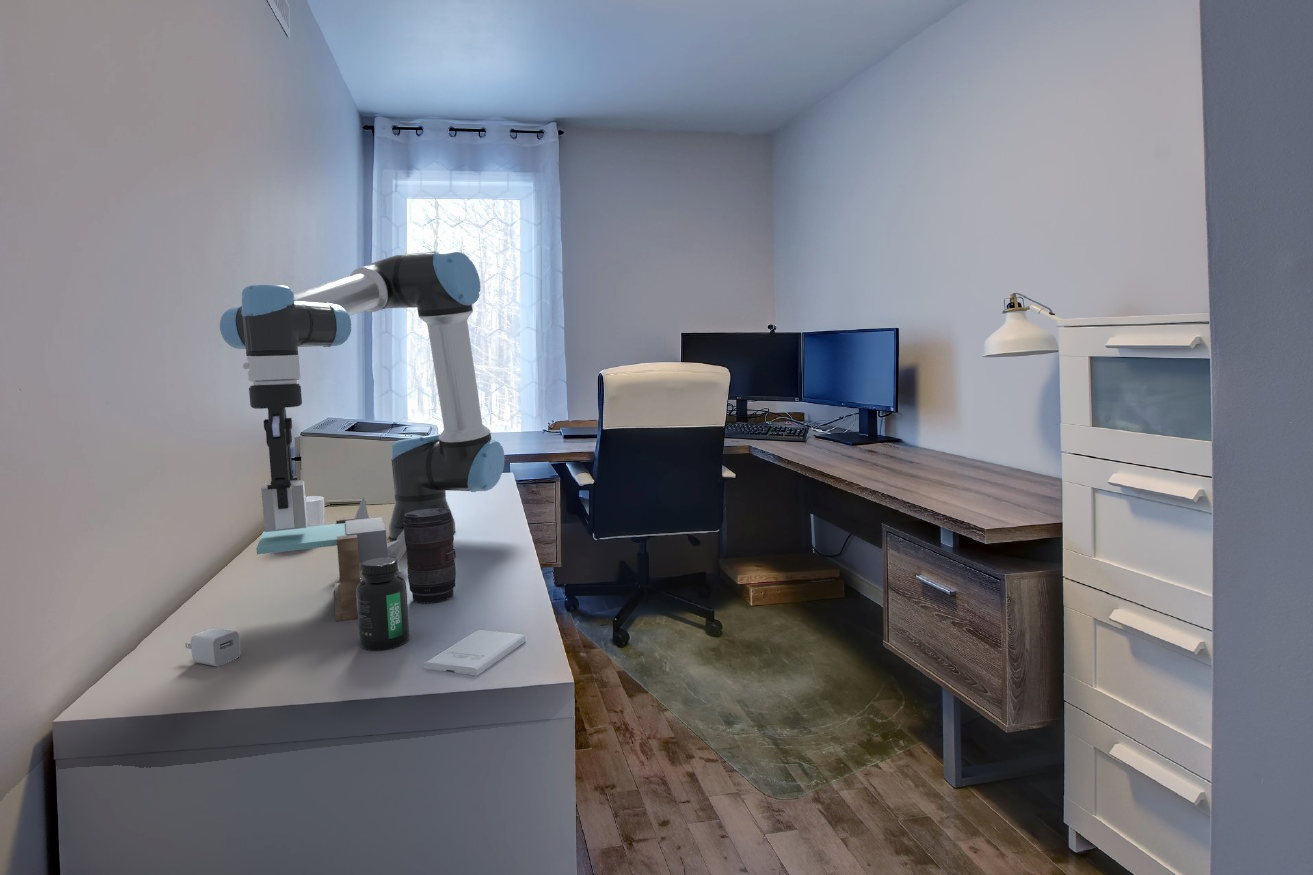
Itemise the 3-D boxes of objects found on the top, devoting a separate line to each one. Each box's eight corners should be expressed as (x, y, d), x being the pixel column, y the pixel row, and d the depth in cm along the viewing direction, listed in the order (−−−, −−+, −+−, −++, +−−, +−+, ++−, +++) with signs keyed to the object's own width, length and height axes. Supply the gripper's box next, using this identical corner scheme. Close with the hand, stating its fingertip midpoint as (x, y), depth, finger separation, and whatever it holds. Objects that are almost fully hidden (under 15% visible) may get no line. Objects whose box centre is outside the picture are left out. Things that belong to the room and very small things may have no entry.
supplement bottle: (409, 647, 109) (403, 564, 108) (357, 654, 107) (351, 570, 106) (410, 631, 116) (405, 553, 114) (361, 637, 114) (356, 558, 112)
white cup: (317, 545, 174) (314, 501, 173) (283, 546, 175) (279, 502, 173) (332, 537, 182) (329, 495, 181) (299, 538, 182) (296, 496, 181)
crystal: (408, 575, 147) (403, 498, 145) (335, 581, 144) (329, 503, 143) (414, 562, 156) (409, 489, 155) (345, 568, 154) (340, 494, 152)
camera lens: (442, 587, 138) (437, 505, 136) (466, 596, 132) (461, 510, 131) (400, 598, 132) (394, 512, 131) (423, 608, 127) (417, 518, 125)
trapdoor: (383, 543, 139) (381, 516, 138) (388, 560, 126) (386, 530, 126) (265, 557, 131) (263, 528, 131) (258, 576, 119) (256, 545, 119)
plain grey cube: (307, 521, 130) (303, 480, 129) (306, 527, 125) (302, 485, 124) (267, 525, 128) (264, 483, 127) (264, 532, 122) (261, 488, 121)
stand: (364, 585, 141) (359, 515, 139) (369, 616, 123) (364, 536, 122) (335, 589, 139) (329, 518, 137) (336, 621, 121) (329, 540, 120)
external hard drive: (525, 645, 110) (477, 679, 99) (476, 640, 113) (423, 672, 101) (525, 634, 110) (476, 667, 98) (476, 629, 113) (423, 660, 101)
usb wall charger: (214, 668, 104) (212, 639, 103) (180, 661, 107) (177, 633, 106) (241, 657, 108) (238, 629, 107) (206, 651, 110) (204, 624, 110)
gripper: (254, 383, 131) (265, 516, 133) (242, 385, 114) (255, 538, 116) (302, 381, 134) (312, 511, 136) (298, 383, 116) (310, 532, 119)
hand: (286, 523), depth 126 cm, fingers closed on plain grey cube, 6 cm apart
